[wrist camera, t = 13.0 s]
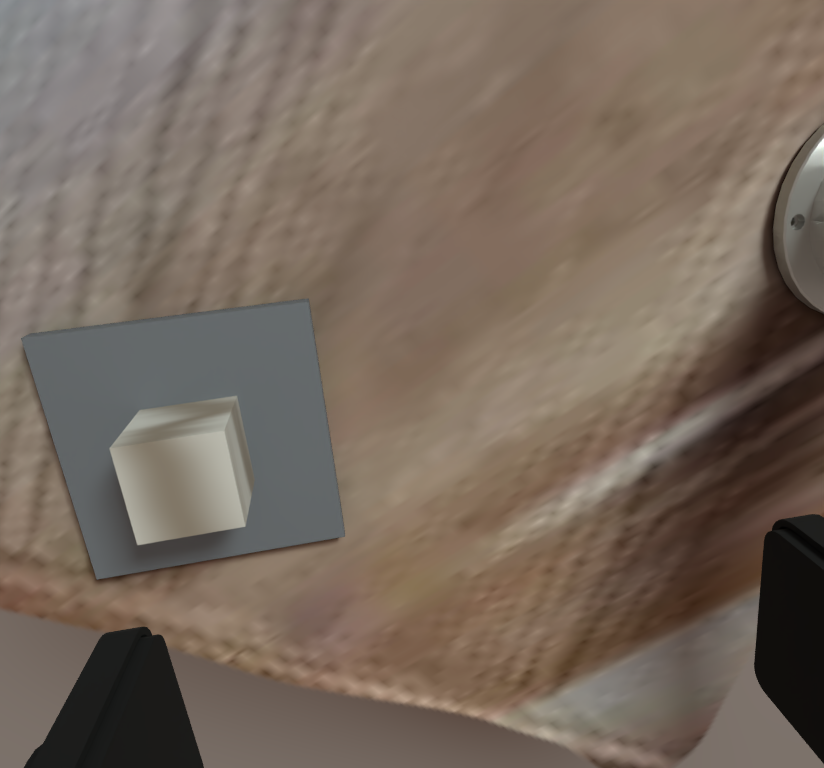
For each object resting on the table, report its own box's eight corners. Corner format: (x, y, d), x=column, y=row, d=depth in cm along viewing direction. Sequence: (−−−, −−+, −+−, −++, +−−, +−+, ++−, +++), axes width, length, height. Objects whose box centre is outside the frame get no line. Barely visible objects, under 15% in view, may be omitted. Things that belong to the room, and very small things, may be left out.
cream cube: (237, 395, 32) (224, 430, 27) (254, 479, 34) (245, 526, 29) (139, 410, 32) (109, 448, 27) (162, 494, 33) (137, 545, 28)
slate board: (308, 298, 32) (308, 301, 31) (344, 527, 37) (345, 536, 36) (30, 333, 31) (21, 338, 30) (102, 569, 35) (96, 579, 34)
